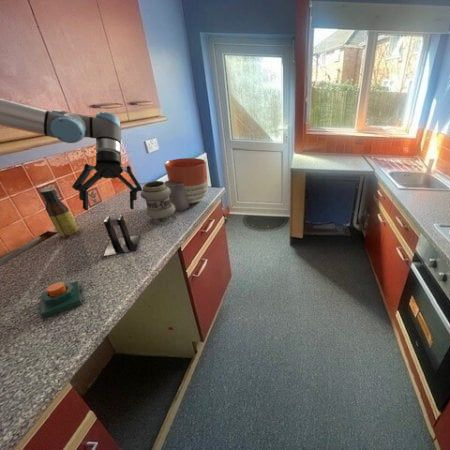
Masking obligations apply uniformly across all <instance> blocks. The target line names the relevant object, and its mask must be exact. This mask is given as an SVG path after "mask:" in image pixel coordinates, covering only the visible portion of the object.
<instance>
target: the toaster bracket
mask: <svg viewBox="0 0 450 450" xmlns="http://www.w3.org/2000/svg"><path fill="white" fill-rule="evenodd" d="M124 218H125V217H124V215H123V214H119V215H118V217H117V219H118V220H117V221H118V224H119V226H118V227H119V229H120V232H121V235H122V237H118V236H117V233H116V229H115V226H111V225H110V220H112V219H111V216H106V217H105V218H104V221H103V224H104V227H105V229H106V232H107V236H108V237H109V242H108V244H107V246H106V249H105V252H104V253H103V257H110V256H115V255H116V256H117V255H121V254H128V253H133V252H134V253H135V252H137V251H138V245H139V241H140V238H141V237H140V236H141V235H140V234H138V235H137V234H136V235H130V233H129V229H128V227H127V226H128V225H127V226H126V223H125V220H124Z"/></svg>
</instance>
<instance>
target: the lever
mask: <svg viewBox="0 0 450 450" xmlns="http://www.w3.org/2000/svg"><path fill="white" fill-rule="evenodd" d="M117 220H118V218H113V219H111V220H110V225H111V226H113V227H119V224H118V221H117ZM124 220H125V223H126V226H128V225H129V223H130V222H129V219H128V218H126V217H124Z"/></svg>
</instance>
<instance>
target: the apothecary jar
mask: <svg viewBox="0 0 450 450" xmlns="http://www.w3.org/2000/svg"><path fill="white" fill-rule="evenodd" d="M164 182H165V181H162V180H154V181H148V182H146V183H144V184H143V185H142V191H140V197H141V198H142V199H143V200H145V204H146V208H145V215H146V216H148V217H149V218H151V219H153V220H154V222H157V223H163V222H168V221H169V220H171V219H172V216H171V215H173V214H174V213H175V211H176V210H175V206H174V204H172V203H171V201H170V197H169V195H170V194H171V189H170V188H169V187H167V186H166V185H165V183H164Z"/></svg>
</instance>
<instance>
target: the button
mask: <svg viewBox="0 0 450 450" xmlns="http://www.w3.org/2000/svg"><path fill="white" fill-rule="evenodd" d="M64 284H65V283H64V282H62V281H61V282H55V283H52V284H51V285H48V286H47V287H46V290H47V292H48V294H49V296H51V297H55V296H58V295H61V294H62V293H64V292H66V290H67V289H66V287H65V285H64ZM46 290H45V291H46Z"/></svg>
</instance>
